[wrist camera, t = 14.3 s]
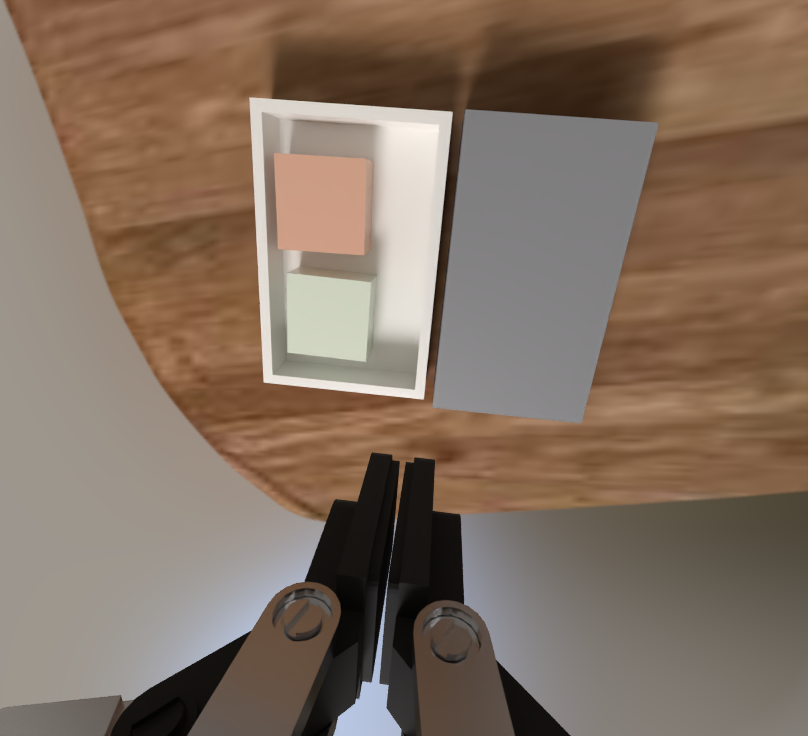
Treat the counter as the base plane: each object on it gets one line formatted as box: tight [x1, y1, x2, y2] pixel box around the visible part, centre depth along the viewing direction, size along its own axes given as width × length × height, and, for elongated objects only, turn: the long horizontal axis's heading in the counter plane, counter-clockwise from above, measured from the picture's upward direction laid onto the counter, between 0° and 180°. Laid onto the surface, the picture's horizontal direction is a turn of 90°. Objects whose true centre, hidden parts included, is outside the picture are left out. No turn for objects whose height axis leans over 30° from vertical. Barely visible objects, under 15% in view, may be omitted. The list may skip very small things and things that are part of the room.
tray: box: [250, 98, 453, 399], centre depth 27 cm, size 16×10×3 cm, turn 176°
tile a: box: [274, 153, 374, 255], centre depth 26 cm, size 5×5×2 cm
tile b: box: [287, 266, 377, 362], centre depth 28 cm, size 5×5×2 cm
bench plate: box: [433, 109, 659, 423], centre depth 26 cm, size 16×9×4 cm, turn 176°
